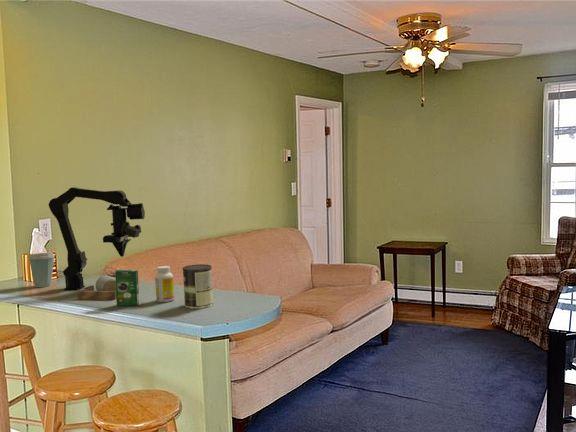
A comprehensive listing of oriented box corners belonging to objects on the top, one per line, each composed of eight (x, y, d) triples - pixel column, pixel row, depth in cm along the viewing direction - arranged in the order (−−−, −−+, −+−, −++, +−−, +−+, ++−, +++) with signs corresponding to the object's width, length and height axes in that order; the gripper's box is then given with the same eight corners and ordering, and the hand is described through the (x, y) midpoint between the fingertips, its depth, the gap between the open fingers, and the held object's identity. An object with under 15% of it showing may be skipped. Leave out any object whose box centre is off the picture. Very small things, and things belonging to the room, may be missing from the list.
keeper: (75, 298, 228) (75, 291, 228) (91, 292, 239) (91, 285, 239) (117, 299, 224) (117, 292, 223) (132, 293, 234) (132, 285, 234)
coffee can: (181, 309, 204) (179, 269, 203) (187, 302, 215) (185, 264, 213) (211, 308, 204) (209, 268, 203) (215, 301, 214) (213, 263, 213)
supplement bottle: (177, 299, 221) (176, 265, 220) (168, 303, 215) (166, 268, 214) (162, 298, 223) (160, 265, 222) (153, 302, 217) (151, 268, 216)
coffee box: (140, 304, 215) (138, 268, 214) (138, 305, 212) (135, 270, 211) (119, 304, 216) (116, 269, 214) (116, 306, 213) (114, 271, 212)
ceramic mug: (104, 298, 227) (103, 278, 226) (95, 295, 233) (94, 276, 233) (129, 294, 234) (128, 275, 233) (120, 291, 240) (119, 272, 240)
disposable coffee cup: (30, 285, 259) (27, 252, 258) (56, 282, 264) (53, 249, 263) (30, 289, 250) (28, 255, 249) (57, 286, 254) (55, 252, 253)
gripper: (125, 222, 236) (127, 260, 237) (147, 217, 254) (149, 253, 255) (100, 222, 239) (103, 260, 240) (124, 218, 257) (126, 253, 258)
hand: (122, 256), depth 248 cm, fingers closed
